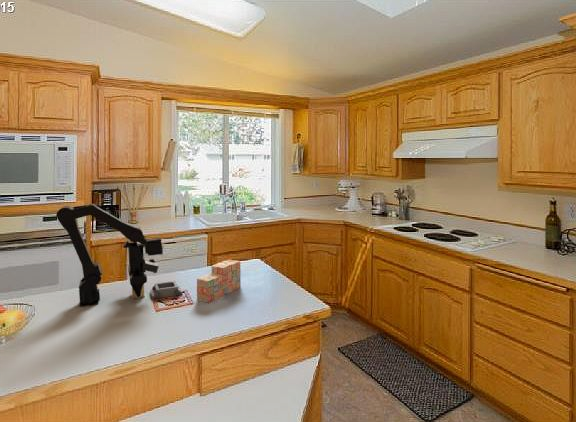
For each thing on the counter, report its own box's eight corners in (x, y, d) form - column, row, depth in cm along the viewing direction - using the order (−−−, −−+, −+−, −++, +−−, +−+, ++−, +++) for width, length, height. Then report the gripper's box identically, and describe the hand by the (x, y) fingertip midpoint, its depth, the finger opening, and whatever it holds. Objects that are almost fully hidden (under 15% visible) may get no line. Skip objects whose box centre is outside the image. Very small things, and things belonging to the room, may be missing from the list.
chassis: (152, 299, 148) (152, 291, 148) (150, 291, 157) (150, 283, 157) (183, 295, 154) (182, 287, 153) (179, 287, 162) (178, 279, 162)
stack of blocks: (208, 303, 146) (207, 273, 144) (196, 300, 149) (195, 271, 147) (240, 287, 164) (240, 260, 162) (229, 284, 167) (229, 258, 165)
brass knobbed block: (132, 298, 150) (131, 282, 149) (132, 294, 154) (131, 278, 153) (144, 296, 151) (143, 280, 150) (143, 293, 156) (142, 277, 154)
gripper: (159, 260, 145) (161, 298, 147) (154, 249, 162) (156, 283, 164) (129, 263, 140) (131, 302, 143) (127, 252, 157) (129, 287, 159)
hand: (138, 293), depth 152 cm, fingers open, 8 cm apart
